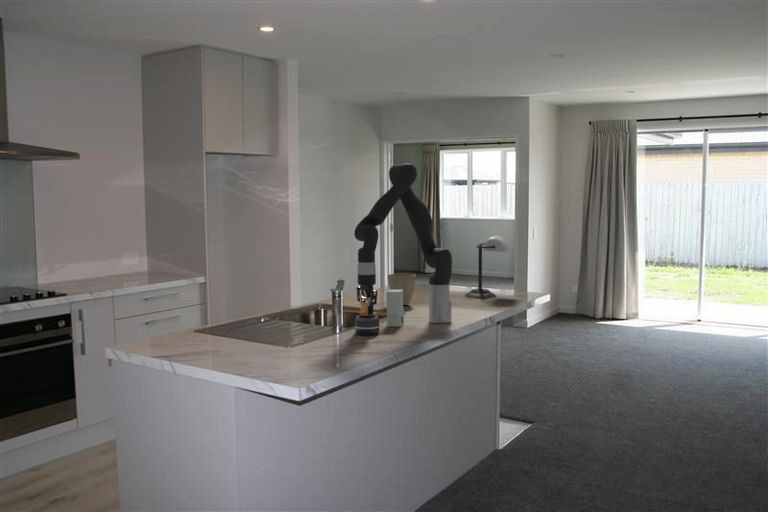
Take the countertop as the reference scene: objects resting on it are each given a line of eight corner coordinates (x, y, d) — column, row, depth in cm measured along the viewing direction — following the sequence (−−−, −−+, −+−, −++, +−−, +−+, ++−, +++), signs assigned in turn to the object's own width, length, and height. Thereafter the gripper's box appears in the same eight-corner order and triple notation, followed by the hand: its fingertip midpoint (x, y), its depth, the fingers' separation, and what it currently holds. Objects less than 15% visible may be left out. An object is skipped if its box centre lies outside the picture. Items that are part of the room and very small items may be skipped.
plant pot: (421, 305, 342) (421, 275, 340) (398, 308, 333) (398, 277, 332) (404, 302, 354) (404, 272, 352) (382, 304, 346) (381, 274, 344)
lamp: (505, 300, 356) (505, 237, 353) (460, 298, 363) (460, 237, 360) (509, 293, 381) (510, 235, 378) (468, 292, 388) (468, 234, 385)
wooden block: (368, 313, 276) (368, 301, 275) (375, 315, 271) (375, 303, 270) (358, 314, 273) (358, 302, 273) (364, 316, 268) (364, 304, 268)
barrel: (371, 330, 280) (371, 313, 279) (384, 334, 271) (383, 317, 270) (350, 332, 275) (350, 315, 274) (362, 337, 266) (362, 319, 265)
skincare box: (400, 327, 285) (400, 291, 284) (385, 326, 287) (385, 291, 285) (404, 323, 294) (403, 289, 292) (389, 323, 295) (389, 288, 293)
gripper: (383, 274, 266) (383, 315, 268) (366, 270, 279) (366, 310, 280) (367, 275, 262) (367, 317, 264) (350, 271, 275) (350, 311, 276)
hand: (366, 313), depth 272 cm, fingers closed on wooden block, 5 cm apart
